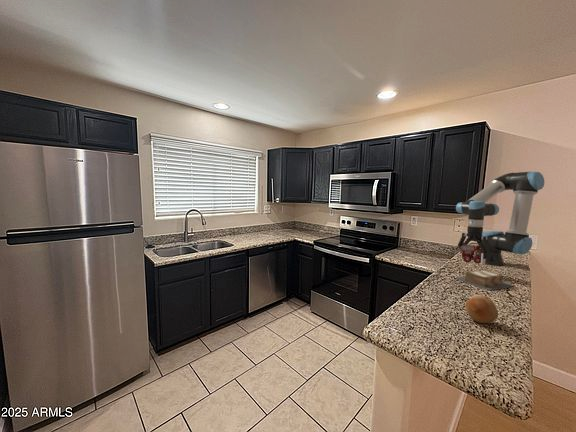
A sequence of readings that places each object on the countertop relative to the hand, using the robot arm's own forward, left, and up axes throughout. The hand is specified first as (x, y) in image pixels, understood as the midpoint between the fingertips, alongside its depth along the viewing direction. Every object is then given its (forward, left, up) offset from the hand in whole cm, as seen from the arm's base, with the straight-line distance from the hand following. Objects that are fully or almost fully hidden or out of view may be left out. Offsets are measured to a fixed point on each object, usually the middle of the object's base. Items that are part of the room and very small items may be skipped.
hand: (472, 261), depth 150 cm
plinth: (+12, +14, -8) cm, 20 cm away
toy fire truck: (0, 0, -1) cm, 1 cm away
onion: (+57, +41, -8) cm, 70 cm away
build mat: (+10, +13, -8) cm, 18 cm away
